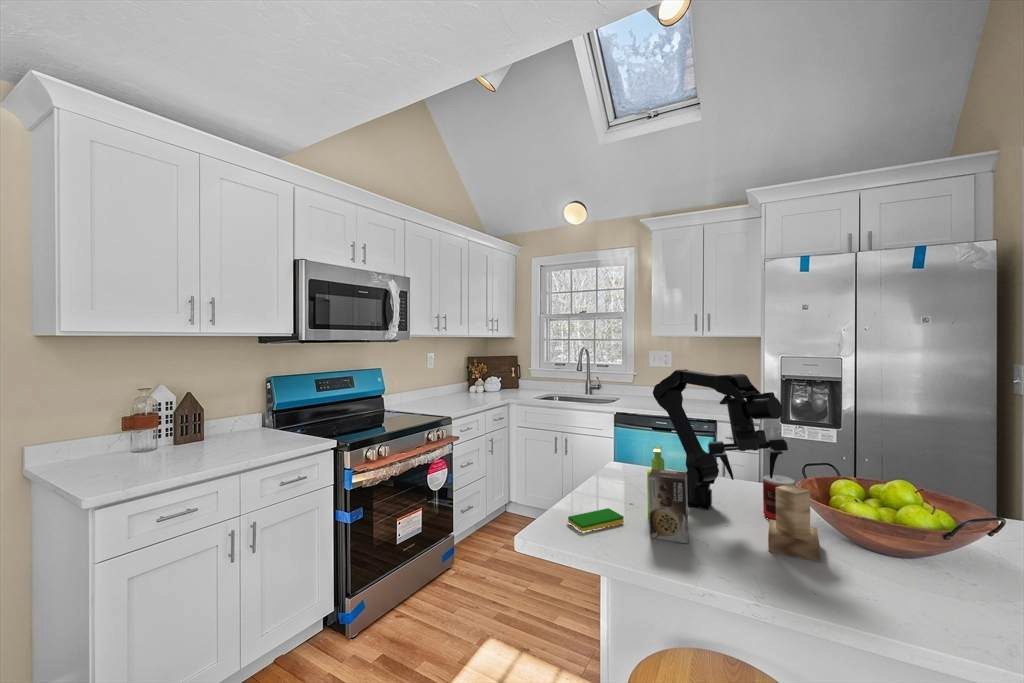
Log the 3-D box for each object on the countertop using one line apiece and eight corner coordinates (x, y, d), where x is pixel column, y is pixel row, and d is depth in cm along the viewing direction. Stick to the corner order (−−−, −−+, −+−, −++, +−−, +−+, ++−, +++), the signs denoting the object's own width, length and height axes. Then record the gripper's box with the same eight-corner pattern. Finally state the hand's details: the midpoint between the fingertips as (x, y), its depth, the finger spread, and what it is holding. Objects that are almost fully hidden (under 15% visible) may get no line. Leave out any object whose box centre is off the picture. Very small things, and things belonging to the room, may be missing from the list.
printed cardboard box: (689, 533, 115) (688, 471, 115) (687, 544, 109) (686, 479, 109) (652, 528, 119) (651, 467, 119) (648, 538, 113) (648, 474, 113)
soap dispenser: (646, 521, 123) (645, 449, 123) (648, 512, 130) (647, 443, 129) (668, 524, 121) (668, 451, 121) (670, 514, 127) (669, 445, 127)
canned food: (786, 512, 127) (785, 474, 127) (801, 524, 119) (801, 483, 119) (758, 512, 128) (757, 474, 128) (771, 524, 120) (771, 483, 120)
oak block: (775, 528, 108) (775, 487, 108) (790, 524, 110) (789, 484, 110) (795, 536, 104) (795, 493, 103) (810, 532, 105) (809, 490, 105)
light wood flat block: (768, 551, 105) (768, 533, 105) (769, 534, 114) (769, 518, 114) (819, 561, 100) (819, 543, 100) (816, 543, 108) (816, 526, 108)
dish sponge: (624, 525, 122) (624, 516, 122) (581, 535, 116) (581, 526, 116) (608, 516, 128) (608, 507, 128) (567, 525, 123) (567, 516, 123)
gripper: (705, 424, 117) (715, 486, 115) (786, 418, 111) (798, 483, 108) (704, 422, 128) (713, 478, 125) (778, 416, 121) (789, 475, 118)
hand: (751, 479), depth 119 cm, fingers open, 9 cm apart
